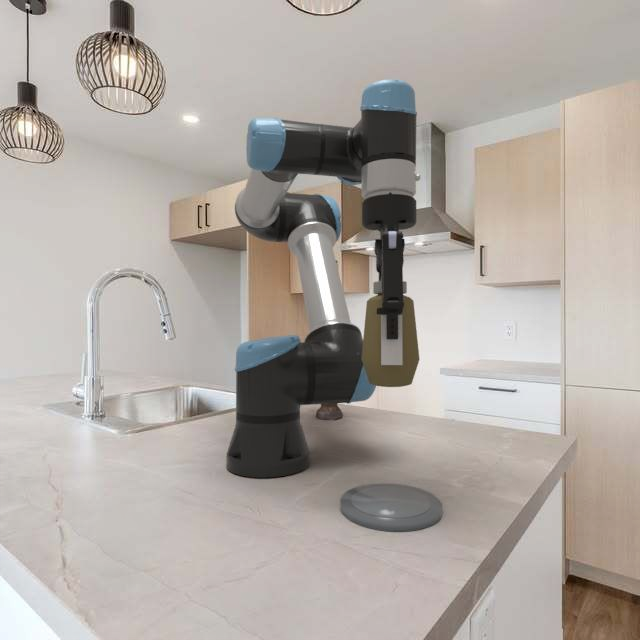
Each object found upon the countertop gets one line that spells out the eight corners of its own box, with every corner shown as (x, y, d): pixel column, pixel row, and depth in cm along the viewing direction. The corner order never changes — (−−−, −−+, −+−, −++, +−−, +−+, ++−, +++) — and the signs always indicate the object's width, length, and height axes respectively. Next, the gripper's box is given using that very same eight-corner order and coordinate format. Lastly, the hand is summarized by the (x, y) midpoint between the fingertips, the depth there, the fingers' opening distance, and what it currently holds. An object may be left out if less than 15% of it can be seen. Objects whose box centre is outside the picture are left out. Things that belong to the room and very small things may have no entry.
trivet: (337, 529, 58) (337, 520, 58) (342, 488, 72) (342, 481, 72) (451, 533, 57) (451, 524, 57) (433, 491, 71) (433, 484, 71)
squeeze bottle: (358, 381, 68) (357, 259, 68) (412, 380, 68) (411, 259, 68) (365, 389, 60) (364, 251, 60) (426, 388, 60) (426, 251, 60)
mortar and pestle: (298, 415, 126) (298, 343, 126) (319, 411, 132) (318, 341, 132) (331, 422, 118) (330, 344, 118) (351, 416, 125) (350, 343, 125)
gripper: (426, 174, 53) (427, 370, 53) (408, 214, 74) (409, 355, 74) (362, 176, 54) (363, 369, 54) (361, 216, 75) (362, 355, 75)
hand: (389, 361), depth 64 cm, fingers closed on squeeze bottle, 8 cm apart
